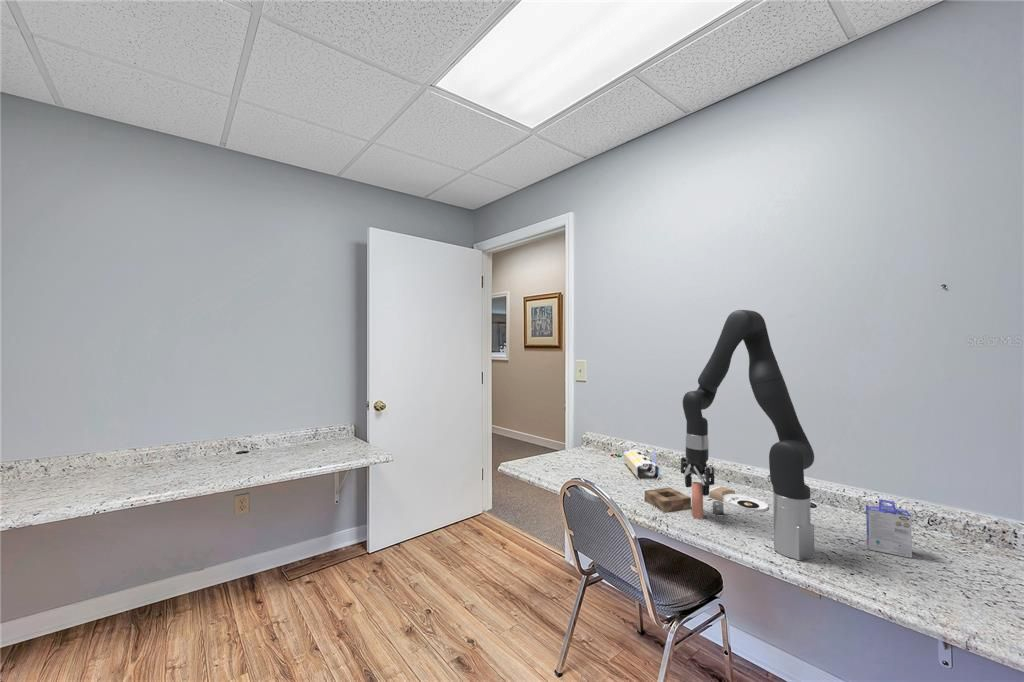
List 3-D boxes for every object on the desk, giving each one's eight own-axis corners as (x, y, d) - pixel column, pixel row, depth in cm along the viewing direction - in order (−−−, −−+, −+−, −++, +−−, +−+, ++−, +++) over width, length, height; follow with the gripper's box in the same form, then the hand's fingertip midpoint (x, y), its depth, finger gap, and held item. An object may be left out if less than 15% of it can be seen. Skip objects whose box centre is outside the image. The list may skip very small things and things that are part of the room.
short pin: (725, 515, 151) (725, 504, 151) (717, 516, 150) (717, 505, 150) (718, 511, 154) (718, 500, 154) (710, 512, 153) (710, 501, 153)
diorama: (659, 480, 190) (659, 451, 190) (636, 480, 190) (636, 451, 190) (643, 464, 215) (643, 439, 215) (623, 464, 215) (623, 439, 215)
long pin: (705, 518, 148) (705, 484, 148) (697, 519, 147) (696, 485, 147) (698, 514, 152) (697, 481, 152) (690, 515, 151) (689, 482, 151)
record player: (721, 485, 174) (773, 500, 158) (721, 492, 174) (773, 508, 158) (706, 491, 167) (758, 507, 151) (706, 498, 168) (758, 516, 151)
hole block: (691, 508, 157) (690, 497, 157) (663, 512, 154) (663, 501, 154) (670, 497, 169) (670, 487, 169) (644, 500, 165) (644, 490, 165)
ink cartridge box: (908, 550, 124) (907, 502, 124) (913, 559, 120) (913, 508, 120) (865, 542, 130) (864, 496, 130) (868, 550, 125) (868, 501, 125)
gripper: (720, 450, 144) (720, 497, 144) (691, 440, 157) (691, 483, 158) (702, 452, 142) (702, 499, 142) (675, 442, 155) (674, 485, 156)
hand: (696, 491), depth 150 cm, fingers open, 8 cm apart
